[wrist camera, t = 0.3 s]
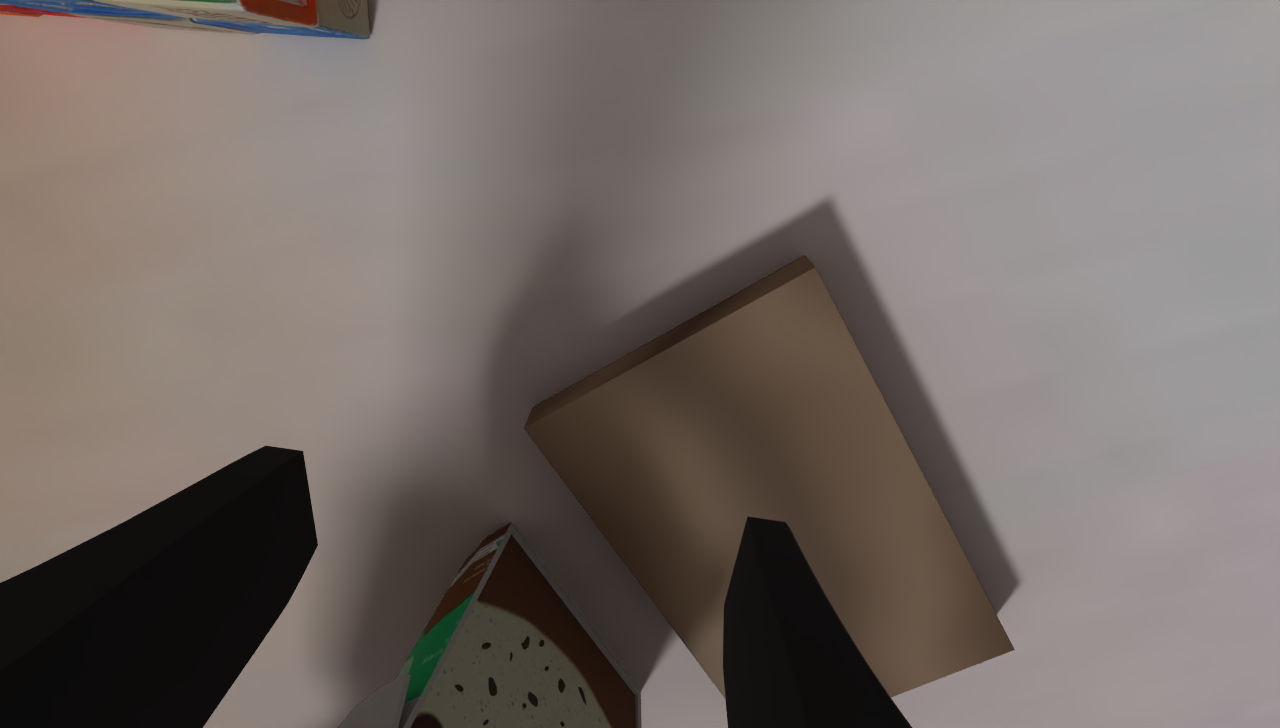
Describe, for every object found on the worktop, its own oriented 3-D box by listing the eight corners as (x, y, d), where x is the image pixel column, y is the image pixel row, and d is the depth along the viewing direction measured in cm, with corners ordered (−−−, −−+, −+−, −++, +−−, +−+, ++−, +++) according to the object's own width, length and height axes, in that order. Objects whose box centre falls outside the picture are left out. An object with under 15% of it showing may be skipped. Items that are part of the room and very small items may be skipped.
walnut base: (756, 713, 27) (761, 747, 26) (532, 407, 22) (523, 428, 21) (994, 618, 25) (1014, 649, 23) (804, 255, 20) (815, 267, 18)
